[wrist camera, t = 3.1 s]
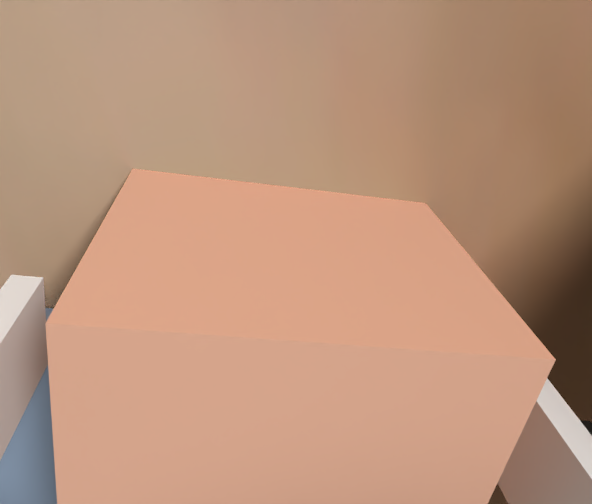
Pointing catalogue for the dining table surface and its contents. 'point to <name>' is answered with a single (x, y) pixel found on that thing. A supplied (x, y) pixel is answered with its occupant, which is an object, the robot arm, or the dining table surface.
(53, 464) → the board
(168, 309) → the terracotta base
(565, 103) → the dining table surface
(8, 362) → the robot arm
